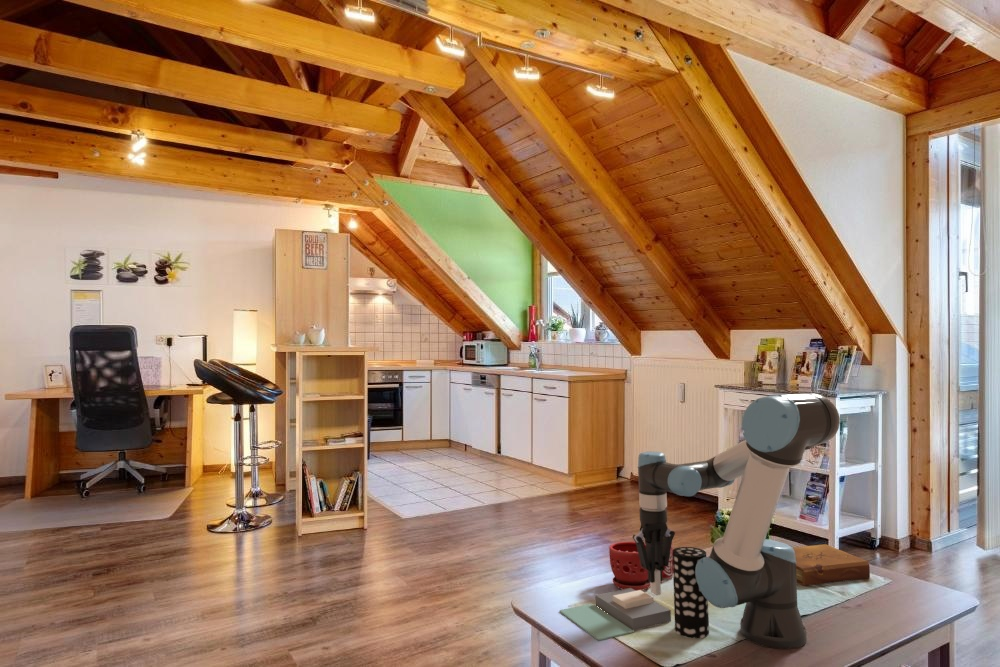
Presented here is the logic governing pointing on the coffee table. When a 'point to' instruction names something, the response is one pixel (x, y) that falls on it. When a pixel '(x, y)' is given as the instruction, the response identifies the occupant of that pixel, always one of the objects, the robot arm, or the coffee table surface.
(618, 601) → the block
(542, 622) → the coffee table surface
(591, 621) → the mat
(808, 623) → the coffee table surface
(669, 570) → the soda can
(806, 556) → the diary
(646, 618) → the grey flat box
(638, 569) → the plant pot
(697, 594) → the spotted tube
